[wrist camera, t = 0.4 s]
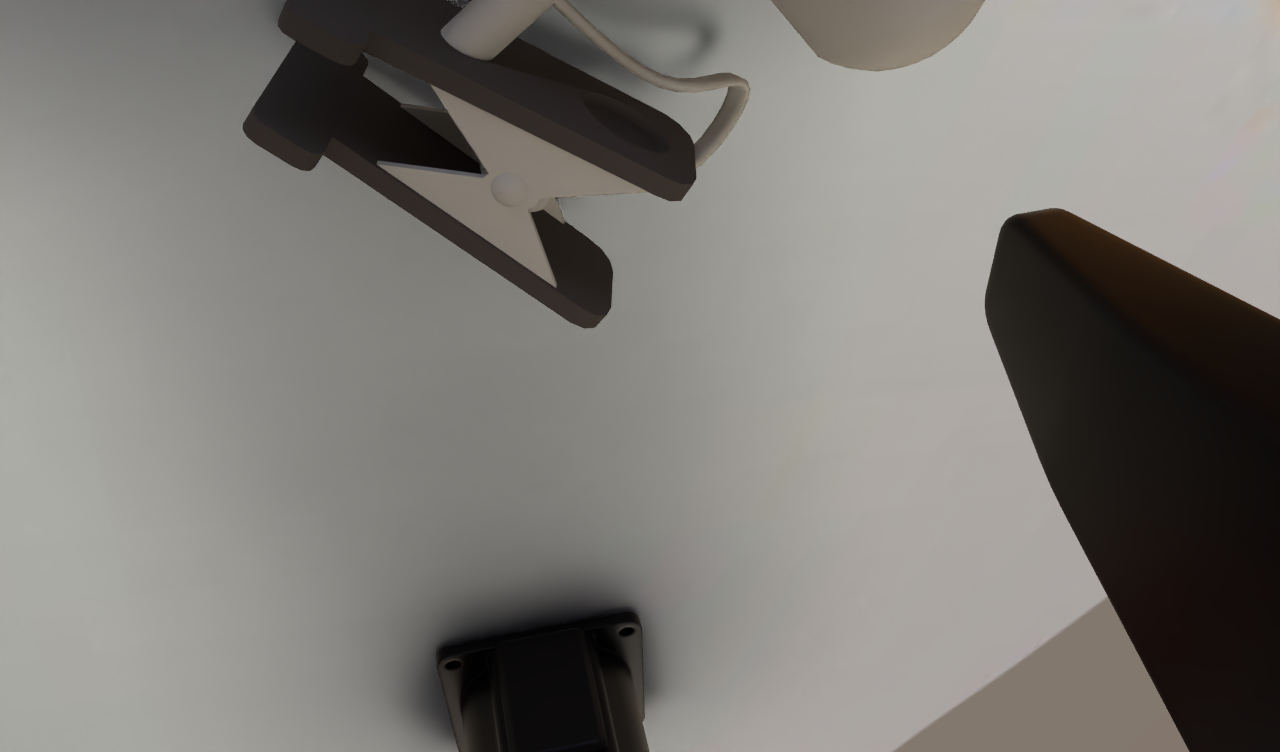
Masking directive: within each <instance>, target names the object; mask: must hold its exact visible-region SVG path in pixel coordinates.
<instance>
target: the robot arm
mask: <svg viewBox="0 0 1280 752" xmlns="http://www.w3.org/2000/svg"><path fill="white" fill-rule="evenodd" d="M985 313H986V318H987V323H988V326H989V329H990V331H991V334H992V337H993V339H994V342H995V345H996V347H997V350H998V352H999V355H1000V358H1001V360H1002V363H1003V365H1004V368H1005V371H1006V373H1007V376H1008V378H1009V381H1010V384H1011V386H1012V389H1013V392H1014V394H1015V397H1016V399H1017V402H1018V405H1019V407H1020V410H1021V412H1022V415H1023V418H1024V420H1025V423H1026V425H1027V428H1028V431H1029V433H1030V436H1031V439H1032V441H1033V444H1034V446H1035V449H1036V452H1037V454H1038V457H1039V459H1040V462H1041V464H1042V467H1043V469H1044V471H1045V474H1046V476H1047V479H1048V481H1049V483H1050V486H1051V488H1052V490H1053V492H1054V494H1055V496H1056V498H1057V500H1058V502H1059V504H1060V506H1061V508H1062V510H1063V512H1064V514H1065V516H1066V518H1067V520H1068V522H1069V523H1070V525H1071V527H1072V529H1073V531H1074V533H1075V535H1076V537H1077V539H1078V541H1079V542H1080V544H1081V546H1082V548H1083V550H1084V552H1085V554H1086V556H1087V558H1088V560H1089V561H1090V563H1091V565H1092V567H1093V569H1094V571H1095V573H1096V575H1097V577H1098V579H1099V580H1100V582H1101V584H1102V586H1103V588H1104V590H1105V592H1106V594H1107V596H1108V598H1109V599H1110V601H1111V603H1112V605H1113V607H1114V609H1115V611H1116V613H1117V614H1118V617H1119V618H1120V620H1121V622H1122V624H1123V626H1124V628H1125V630H1126V632H1127V634H1128V636H1129V637H1130V639H1131V641H1132V643H1133V645H1134V647H1135V649H1136V651H1137V652H1138V654H1139V656H1140V658H1141V660H1142V662H1143V664H1144V666H1145V668H1146V670H1147V672H1148V674H1149V675H1150V677H1151V679H1152V681H1153V683H1154V685H1155V687H1156V689H1157V691H1158V692H1159V694H1160V696H1161V698H1162V700H1163V702H1164V704H1165V706H1166V708H1167V710H1168V712H1169V713H1170V715H1171V717H1172V719H1173V721H1174V723H1175V725H1176V727H1177V729H1178V731H1179V732H1180V734H1181V736H1182V738H1183V740H1184V742H1185V744H1186V746H1187V748H1188V750H1189V751H1190V752H1280V319H1278V318H1276V317H1274V316H1272V315H1270V314H1268V313H1266V312H1264V311H1262V310H1260V309H1258V308H1256V307H1254V306H1252V305H1250V304H1248V303H1246V302H1244V301H1242V300H1240V299H1238V298H1237V297H1235V296H1233V295H1231V294H1229V293H1227V292H1225V291H1223V290H1221V289H1219V288H1217V287H1215V286H1213V285H1211V284H1209V283H1207V282H1205V281H1203V280H1201V279H1199V278H1197V277H1195V276H1193V275H1192V274H1190V273H1188V272H1186V271H1184V270H1182V269H1180V268H1178V267H1176V266H1174V265H1172V264H1170V263H1168V262H1166V261H1164V260H1162V259H1160V258H1158V257H1156V256H1154V255H1152V254H1150V253H1148V252H1147V251H1145V250H1143V249H1141V248H1139V247H1137V246H1135V245H1133V244H1131V243H1129V242H1127V241H1125V240H1123V239H1121V238H1119V237H1117V236H1115V235H1113V234H1111V233H1109V232H1107V231H1105V230H1103V229H1101V228H1100V227H1098V226H1096V225H1094V224H1092V223H1090V222H1088V221H1086V220H1084V219H1082V218H1080V217H1078V216H1076V215H1074V214H1072V213H1070V212H1068V211H1065V210H1063V209H1059V208H1050V209H1044V210H1039V211H1033V212H1027V213H1022V214H1016V215H1014V216H1012V217H1010V218H1008V219H1007V220H1006V221H1005V223H1004V224H1003V226H1002V227H1001V230H1000V233H999V237H998V242H997V246H996V250H995V255H994V259H993V263H992V268H991V272H990V276H989V281H988V285H987V289H986V295H985ZM436 662H437V670H438V674H439V678H440V681H441V685H442V689H443V693H444V697H445V701H446V704H447V708H448V712H449V716H450V720H451V724H452V727H453V731H454V735H455V739H456V743H457V747H458V751H459V752H649V748H648V744H647V740H646V736H645V731H644V727H643V723H642V722H643V721H644V718H645V713H644V681H643V648H642V627H641V623H640V619H639V617H638V615H637V614H635V613H632V612H623V613H618V614H612V615H607V616H602V617H597V618H591V619H586V620H581V621H575V622H570V623H565V624H560V625H554V626H549V627H544V628H539V629H533V630H528V631H523V632H518V633H512V634H507V635H502V636H497V637H491V638H486V639H481V640H476V641H470V642H465V643H460V644H455V645H450V646H446V647H444V648H442V649H440V650H439V651H438V652H437V654H436Z"/></svg>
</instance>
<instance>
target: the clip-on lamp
mask: <svg viewBox="0 0 1280 752" xmlns="http://www.w3.org/2000/svg"><path fill="white" fill-rule="evenodd" d="M771 1H772V2H773V3H774V4H775V6H776V7H777V8H778V9H779V10H780V12H781V13H782V14H783V15H784V16H785V18H786V19H787V20H788V21H789V22H790V24H791V25H792V26H793V27H794V28H795V30H796V31H797V32H798V33H799V34H800V36H801V37H802V38H803V39H804V40H805V42H806V43H807V44H808V45H809V46H810V48H811V49H812V50H813V51H814V52H815V54H816V55H817V56H818V57H820V58H822V59H824V60H826V61H828V62H830V63H832V64H836V65H839V66H843V67H847V68H852V69H859V70H869V71H883V70H892V69H896V68H900V67H905V66H908V65H911V64H914V63H917V62H919V61H921V60H924V59H926V58H928V57H930V56H932V55H934V54H935V53H937V52H938V51H940V50H941V49H943V48H944V47H946V46H947V45H948V44H950V43H951V42H952V41H953V40H954V39H955V38H957V37H958V36H959V35H960V34H961V33H962V32H963V31H964V30H965V28H966V27H967V26H968V25H969V24H970V23H971V21H972V20H973V19H974V17H975V16H976V14H977V13H978V11H979V9H980V8H981V6H982V5H983V3H984V2H985V0H771ZM552 5H553V6H554V7H555V8H556V9H557V10H558V11H559V12H560V13H561V14H562V15H563V16H565V17H566V18H567V19H568V20H569V21H570V22H571V23H572V24H573V25H574V26H575V27H576V28H577V29H579V30H580V31H581V32H582V33H583V34H584V35H585V36H586V37H587V38H589V39H590V40H591V41H592V42H593V43H594V44H595V45H596V46H598V47H599V48H600V49H601V50H603V51H604V52H605V53H606V54H607V55H609V56H610V57H611V58H612V59H614V60H615V61H616V62H617V63H619V64H620V65H621V66H623V67H624V68H626V69H627V70H629V71H630V72H632V73H633V74H635V75H636V76H638V77H639V78H641V79H643V80H645V81H647V82H649V83H651V84H653V85H655V86H657V87H660V88H663V89H667V90H671V91H675V92H694V93H695V92H702V91H709V90H715V89H719V88H724V87H728V92H727V95H726V97H725V100H724V102H723V104H722V106H721V108H720V110H719V112H718V113H717V115H716V117H715V118H714V120H713V122H712V123H711V124H710V126H709V127H708V128H707V130H706V131H705V133H704V134H703V135H702V137H701V138H700V139H699V140H698V141H697V142H696V143H695V144H693V141H692V139H691V137H690V135H689V134H688V133H687V132H686V131H685V130H684V129H683V128H682V127H681V125H680V124H678V123H677V122H675V121H674V120H673V119H671V118H670V117H668V116H667V115H666V114H664V113H662V112H660V111H658V110H656V109H654V108H652V107H650V106H648V105H647V104H645V103H643V102H641V101H639V100H637V99H635V98H633V97H631V96H629V95H627V94H625V93H623V92H621V91H620V90H618V89H616V88H614V87H612V86H610V85H608V84H606V83H604V82H602V81H600V80H598V79H596V78H594V77H593V76H591V75H589V74H587V73H585V72H583V71H581V70H579V69H577V68H575V67H573V66H571V65H569V64H568V63H566V62H564V61H562V60H560V59H558V58H556V57H554V56H552V55H550V54H548V53H546V52H544V51H542V50H541V49H539V48H537V47H535V46H533V45H531V44H529V43H527V42H525V41H523V40H521V39H519V38H517V36H519V35H520V34H521V33H522V32H523V31H524V30H525V29H526V28H527V27H529V26H530V25H531V24H532V23H533V22H534V21H535V20H536V19H537V18H539V17H540V16H541V15H542V14H543V13H544V12H545V11H546V10H547V9H549V8H550V7H551V6H552ZM278 27H279V28H280V29H281V31H282V32H283V33H284V34H286V35H287V36H289V37H290V38H292V39H293V40H295V41H296V42H295V44H294V45H293V47H292V48H291V50H290V51H289V53H288V54H287V56H286V57H285V59H284V61H283V62H282V64H281V65H280V67H279V68H278V70H277V71H276V73H275V74H274V76H273V77H272V79H271V81H270V82H269V84H268V85H267V87H266V88H265V90H264V91H263V93H262V94H261V96H260V97H259V99H258V101H257V102H256V104H255V105H254V107H253V108H252V110H251V112H250V113H249V115H248V117H247V118H246V120H245V122H244V123H243V131H244V132H245V134H246V136H247V137H248V138H249V139H250V140H252V141H253V142H254V143H255V144H257V145H259V146H260V147H262V148H263V149H265V150H267V151H268V152H270V153H272V154H273V155H275V156H276V157H278V158H280V159H281V160H283V161H285V162H286V163H288V164H290V165H291V166H293V167H295V168H298V169H300V170H305V171H310V170H312V169H313V168H315V166H316V165H317V163H318V162H319V160H320V159H321V157H322V155H324V156H326V157H327V158H329V159H330V160H332V161H333V162H335V163H336V164H338V165H339V166H341V167H342V168H344V169H345V170H346V171H348V172H349V173H351V174H352V175H354V176H355V177H357V178H358V179H360V180H361V181H363V182H364V183H366V184H367V185H369V186H370V187H372V188H373V189H374V190H376V191H377V192H379V193H380V194H382V195H383V196H385V197H386V198H388V199H389V200H391V201H392V202H394V203H395V204H397V205H398V206H400V207H401V208H402V209H404V210H405V211H407V212H408V213H410V214H411V215H413V216H414V217H416V218H417V219H419V220H420V221H422V222H423V223H425V224H426V225H428V226H429V227H430V228H432V229H433V230H435V231H436V232H438V233H439V234H441V235H442V236H444V237H445V238H447V239H448V240H450V241H451V242H453V243H454V244H456V245H457V246H458V247H460V248H461V249H463V250H464V251H466V252H467V253H469V254H470V255H472V256H473V257H475V258H476V259H478V260H479V261H481V262H482V263H484V264H485V265H486V266H488V267H489V268H491V269H492V270H494V271H495V272H497V273H498V274H500V275H501V276H503V277H504V278H506V279H507V280H509V281H510V282H511V283H513V284H514V285H516V286H517V287H519V288H520V289H522V290H523V291H525V292H526V293H528V294H529V295H531V296H532V297H534V298H535V299H537V300H538V301H539V302H541V303H542V304H544V305H545V306H547V307H548V308H550V309H551V310H553V311H554V312H556V313H557V314H559V315H560V316H562V317H563V318H565V319H566V320H567V321H569V322H570V323H573V324H575V325H578V326H580V327H582V328H595V327H596V326H597V325H598V324H599V323H600V321H601V320H602V319H603V318H604V317H605V316H606V315H607V313H608V312H609V310H610V308H611V299H612V280H613V270H612V266H611V263H610V260H609V259H608V258H607V256H606V255H605V253H604V252H603V251H602V249H601V248H600V247H598V246H597V245H596V244H595V243H594V242H592V241H591V240H590V239H589V238H587V237H586V236H585V235H583V234H582V233H581V232H579V231H578V230H576V229H575V228H574V227H572V226H571V225H569V224H568V223H567V222H565V221H564V218H563V215H562V212H561V210H560V207H559V204H558V201H557V197H573V196H590V195H606V194H623V193H640V192H649V193H651V194H654V195H656V196H658V197H661V198H663V199H666V200H668V201H681V200H682V199H683V197H684V196H685V195H686V193H687V192H688V190H689V189H690V188H691V186H692V185H693V183H694V181H695V180H696V168H697V167H699V166H700V165H702V164H703V163H704V162H705V161H706V160H707V159H708V158H709V157H710V156H711V155H712V154H713V153H714V152H715V151H716V150H717V149H718V148H719V146H720V145H721V144H722V142H723V141H724V140H725V138H726V137H727V136H728V134H729V133H730V132H731V130H732V129H733V127H734V125H735V124H736V122H737V120H738V119H739V117H740V116H741V114H742V112H743V110H744V108H745V105H746V103H747V101H748V98H749V93H750V87H749V84H748V82H747V81H746V80H745V79H743V78H741V77H739V76H737V75H734V74H732V73H717V74H713V75H708V76H703V77H697V78H674V77H670V76H666V75H662V74H660V73H658V72H656V71H654V70H652V69H650V68H648V67H646V66H644V65H642V64H641V63H639V62H638V61H637V60H635V59H634V58H632V57H631V56H629V55H628V54H627V53H625V52H624V51H623V50H621V49H620V48H619V47H618V46H617V45H616V44H614V43H613V42H612V41H611V40H610V39H608V38H607V37H606V36H605V35H604V34H602V33H601V32H600V31H599V30H598V29H597V28H596V27H595V26H594V25H593V24H592V23H590V22H589V21H588V20H587V19H586V18H585V17H584V16H583V15H582V14H581V13H580V12H579V11H577V10H576V9H575V8H574V7H573V6H572V5H571V4H570V3H569V2H568V1H567V0H472V1H471V2H470V3H469V4H468V5H466V6H465V7H464V8H463V9H462V8H460V7H458V6H456V5H454V4H452V3H450V2H448V1H446V0H286V3H285V5H284V7H283V10H282V12H281V14H280V17H279V19H278ZM362 51H364V52H366V53H368V54H370V55H372V56H374V57H376V58H378V59H380V60H382V61H384V62H386V63H388V64H390V65H392V66H394V67H396V68H399V69H401V70H403V71H405V72H407V73H409V74H411V75H413V76H415V77H417V78H419V79H421V80H423V81H425V82H427V83H429V84H430V85H431V87H432V88H433V90H434V91H435V93H436V94H437V96H438V97H439V99H440V100H441V102H442V103H443V105H444V106H445V108H446V109H438V108H431V107H424V106H416V105H409V104H402V103H400V102H399V101H397V100H396V99H395V98H393V97H392V96H390V95H389V94H388V93H386V92H385V91H383V90H382V89H381V88H379V87H378V86H376V85H375V84H374V83H372V82H371V81H370V80H368V79H367V78H365V77H364V76H363V74H364V72H365V70H366V68H367V66H368V60H367V58H366V57H365V56H364V54H363V53H361V52H362Z"/></svg>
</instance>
